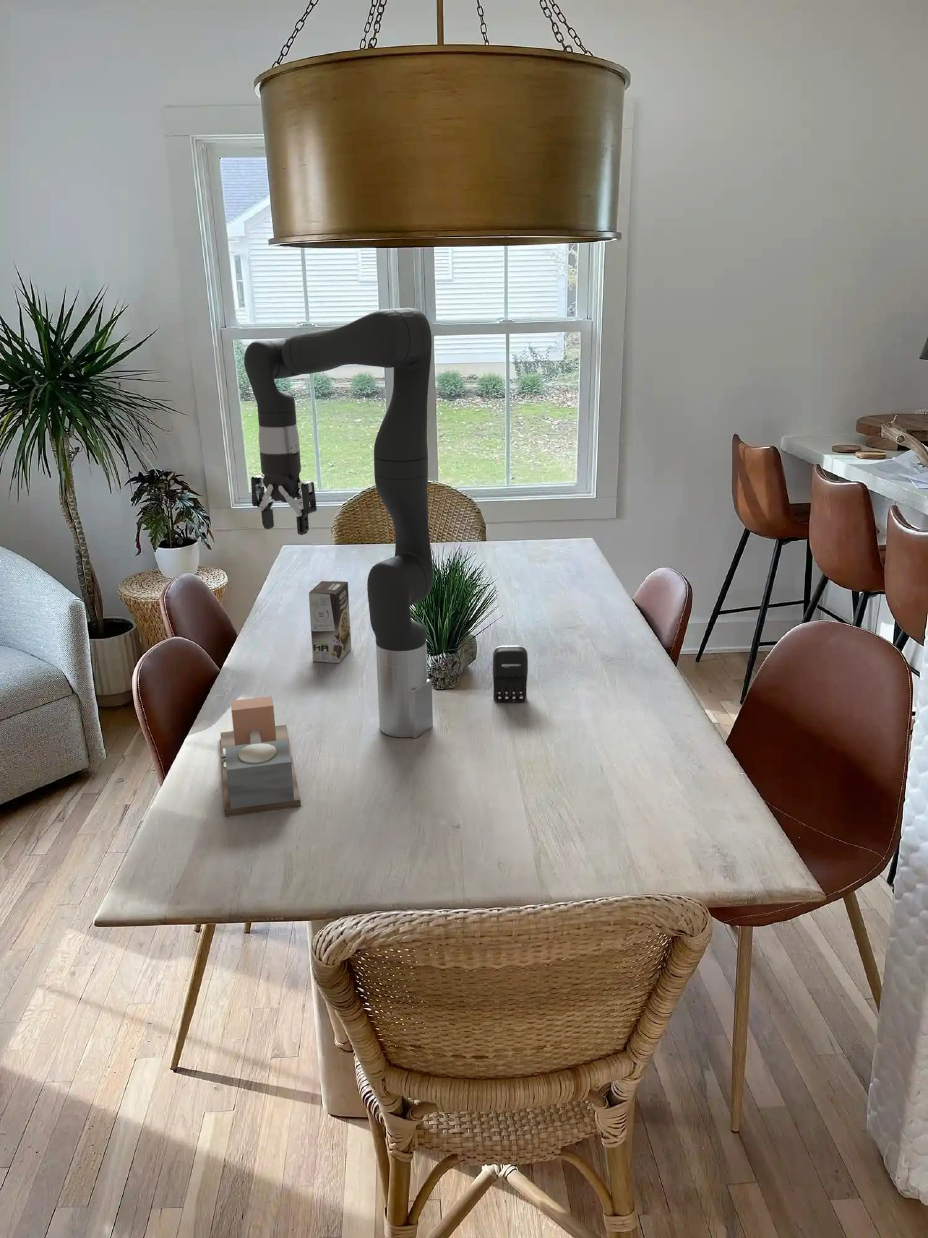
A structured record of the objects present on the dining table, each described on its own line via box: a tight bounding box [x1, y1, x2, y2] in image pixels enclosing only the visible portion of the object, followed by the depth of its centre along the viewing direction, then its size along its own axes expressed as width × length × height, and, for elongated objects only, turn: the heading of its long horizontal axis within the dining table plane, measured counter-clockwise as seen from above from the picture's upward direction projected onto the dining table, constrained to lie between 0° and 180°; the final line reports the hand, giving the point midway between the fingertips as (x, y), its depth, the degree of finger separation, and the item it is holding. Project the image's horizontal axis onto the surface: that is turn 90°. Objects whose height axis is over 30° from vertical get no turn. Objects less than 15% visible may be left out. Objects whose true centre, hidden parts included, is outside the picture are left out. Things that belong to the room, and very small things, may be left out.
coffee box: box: [308, 580, 352, 664], centre depth 215 cm, size 9×6×16 cm
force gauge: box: [220, 724, 302, 817], centre depth 168 cm, size 28×12×9 cm, turn 14°
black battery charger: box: [492, 644, 529, 704], centre depth 192 cm, size 7×4×11 cm, turn 90°
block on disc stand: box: [220, 695, 276, 760], centre depth 167 cm, size 9×10×10 cm
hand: (285, 531), depth 191 cm, fingers open, 8 cm apart
